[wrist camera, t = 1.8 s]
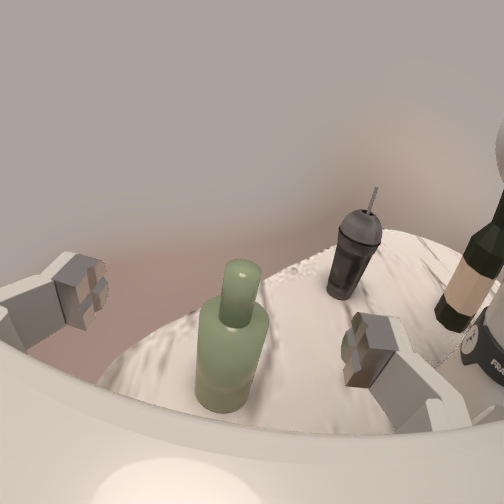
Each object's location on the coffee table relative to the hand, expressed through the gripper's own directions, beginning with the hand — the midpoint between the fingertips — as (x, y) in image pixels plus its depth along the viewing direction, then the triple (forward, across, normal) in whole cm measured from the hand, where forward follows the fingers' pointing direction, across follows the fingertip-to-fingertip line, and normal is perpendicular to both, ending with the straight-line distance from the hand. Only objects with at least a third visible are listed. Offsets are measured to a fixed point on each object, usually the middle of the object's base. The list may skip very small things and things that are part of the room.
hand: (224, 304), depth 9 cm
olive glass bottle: (+12, 0, +24) cm, 27 cm away
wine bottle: (+33, -41, +24) cm, 58 cm away
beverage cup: (+36, -17, +24) cm, 46 cm away
